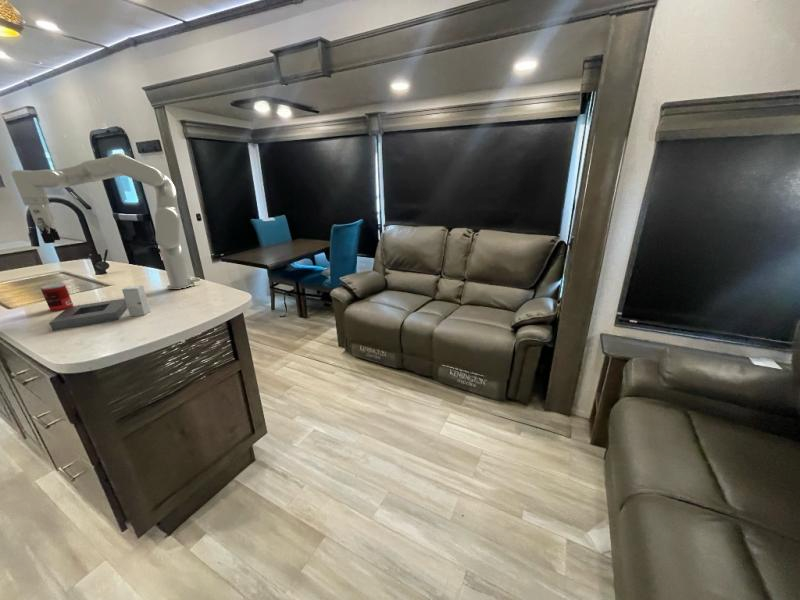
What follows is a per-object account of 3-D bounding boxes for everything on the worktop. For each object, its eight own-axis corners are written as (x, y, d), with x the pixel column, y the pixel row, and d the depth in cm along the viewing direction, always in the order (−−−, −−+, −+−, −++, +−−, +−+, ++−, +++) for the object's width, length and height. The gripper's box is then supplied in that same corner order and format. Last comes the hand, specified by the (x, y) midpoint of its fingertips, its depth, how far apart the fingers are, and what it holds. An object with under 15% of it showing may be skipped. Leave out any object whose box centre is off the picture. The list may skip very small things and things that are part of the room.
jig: (129, 305, 147) (127, 298, 146) (118, 319, 130) (115, 311, 129) (72, 314, 138) (68, 306, 137) (52, 331, 121) (48, 322, 120)
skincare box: (129, 316, 133) (120, 289, 129) (136, 312, 138) (127, 286, 133) (145, 315, 134) (136, 288, 130) (151, 311, 138) (143, 285, 134)
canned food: (72, 304, 151) (63, 282, 147) (75, 307, 146) (65, 284, 142) (49, 308, 145) (39, 286, 141) (51, 312, 140) (40, 289, 136)
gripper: (43, 201, 130) (60, 242, 136) (53, 200, 143) (68, 238, 149) (16, 202, 126) (35, 245, 132) (29, 201, 139) (46, 240, 145)
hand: (52, 241), depth 140 cm, fingers open, 9 cm apart
